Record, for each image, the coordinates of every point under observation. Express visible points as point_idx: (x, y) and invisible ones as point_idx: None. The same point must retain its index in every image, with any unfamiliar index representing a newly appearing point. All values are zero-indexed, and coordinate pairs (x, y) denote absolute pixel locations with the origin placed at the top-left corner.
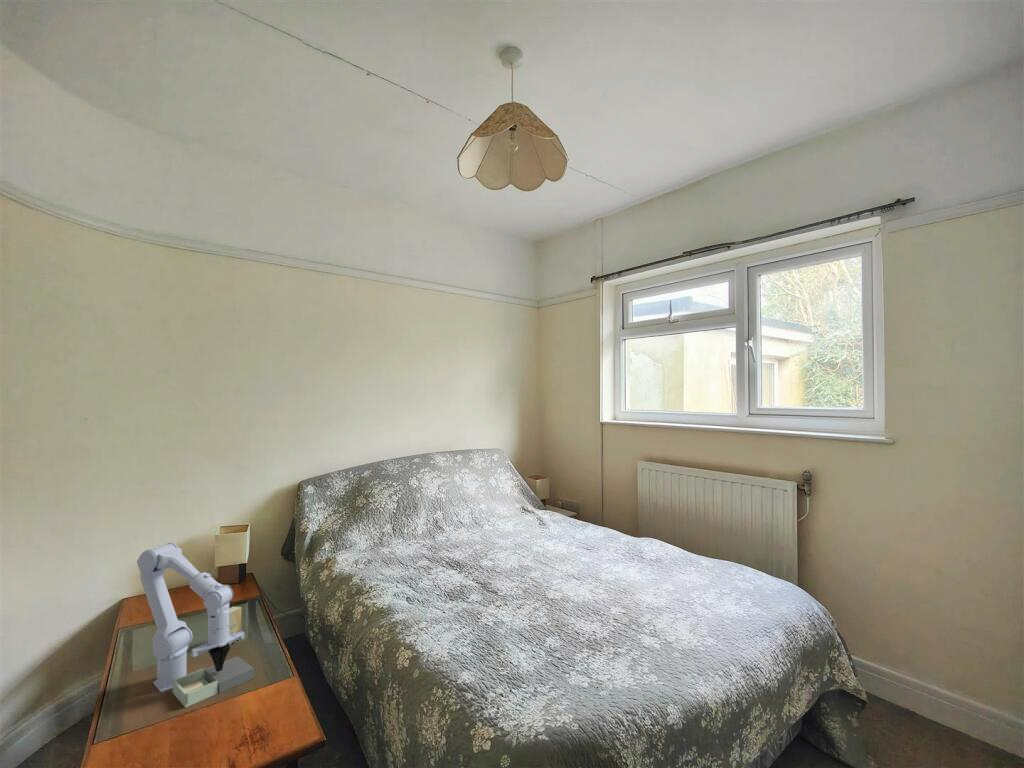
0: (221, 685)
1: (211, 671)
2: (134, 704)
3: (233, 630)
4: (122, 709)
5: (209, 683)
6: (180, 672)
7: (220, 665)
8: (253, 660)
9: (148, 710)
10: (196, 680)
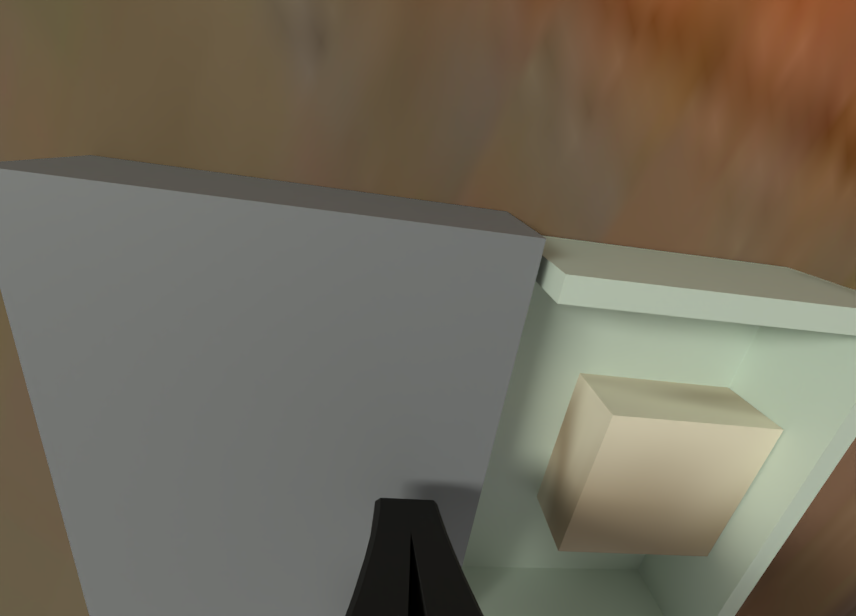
0: (507, 224)
1: None
2: (793, 603)
3: None
4: (846, 602)
5: None
6: None
7: (407, 568)
8: (6, 533)
9: (846, 479)
10: (577, 546)
